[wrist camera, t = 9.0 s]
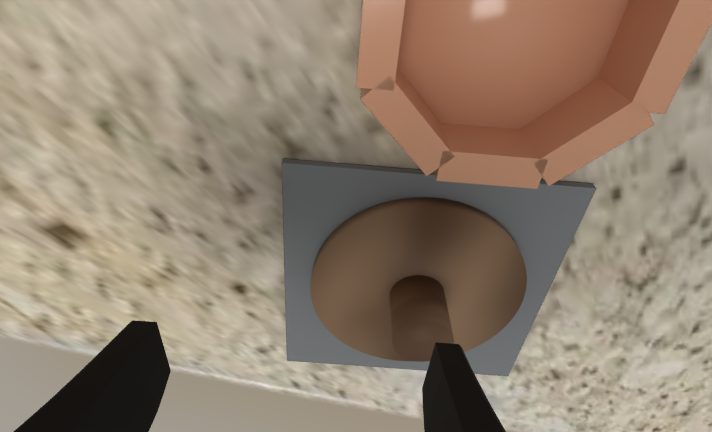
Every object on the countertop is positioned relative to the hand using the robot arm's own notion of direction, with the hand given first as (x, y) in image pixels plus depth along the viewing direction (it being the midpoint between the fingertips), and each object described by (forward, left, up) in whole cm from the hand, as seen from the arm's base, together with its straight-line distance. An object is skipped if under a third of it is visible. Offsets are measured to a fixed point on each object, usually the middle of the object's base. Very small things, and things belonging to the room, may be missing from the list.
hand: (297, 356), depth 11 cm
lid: (-5, +6, -10) cm, 12 cm away
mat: (-5, +7, -10) cm, 13 cm away
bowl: (-6, -7, -10) cm, 14 cm away
